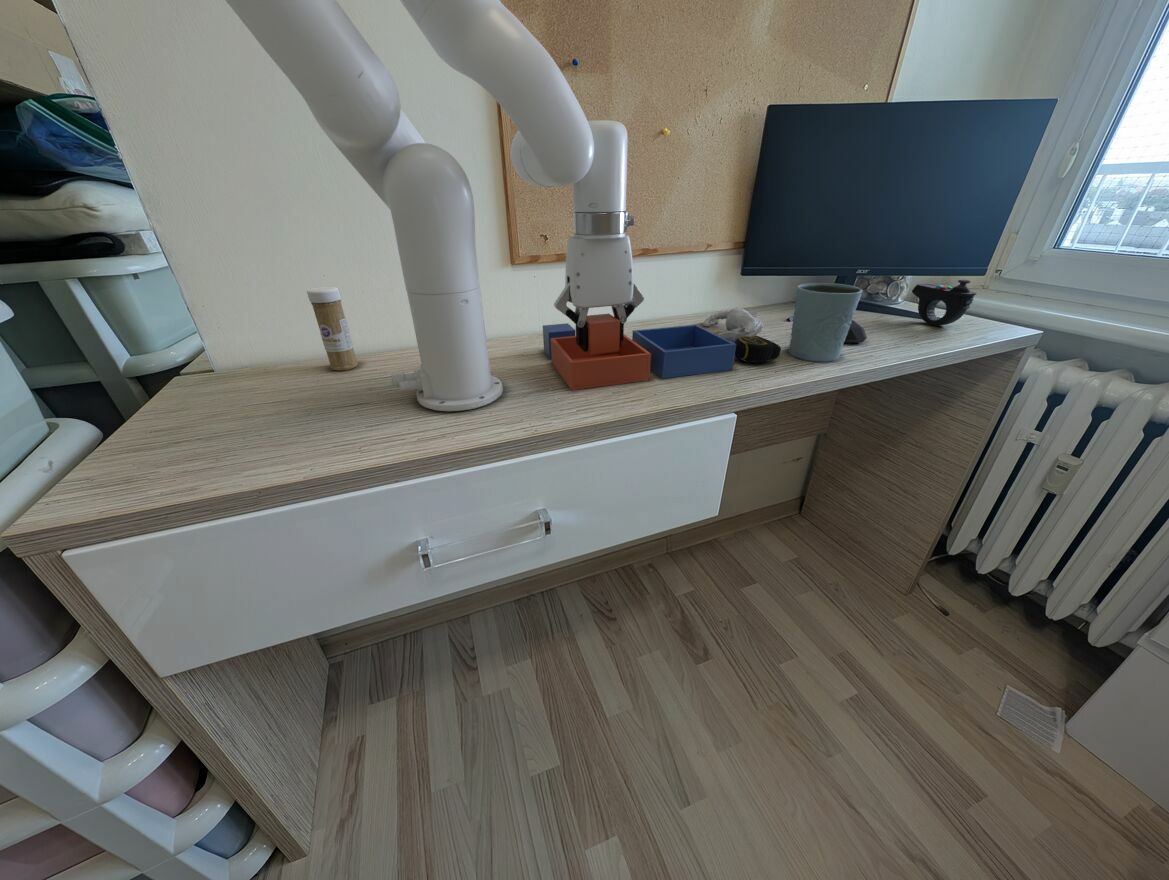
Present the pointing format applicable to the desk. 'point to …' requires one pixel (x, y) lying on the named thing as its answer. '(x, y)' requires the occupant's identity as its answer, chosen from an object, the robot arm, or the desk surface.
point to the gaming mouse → (855, 333)
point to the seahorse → (736, 323)
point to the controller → (952, 297)
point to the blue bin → (685, 350)
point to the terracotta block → (602, 333)
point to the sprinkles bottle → (333, 327)
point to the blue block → (555, 335)
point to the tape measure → (756, 349)
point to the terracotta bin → (599, 364)
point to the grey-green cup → (822, 320)
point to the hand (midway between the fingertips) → (599, 346)
